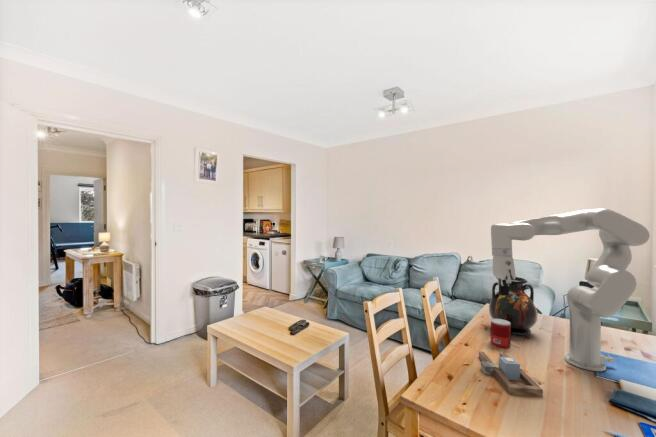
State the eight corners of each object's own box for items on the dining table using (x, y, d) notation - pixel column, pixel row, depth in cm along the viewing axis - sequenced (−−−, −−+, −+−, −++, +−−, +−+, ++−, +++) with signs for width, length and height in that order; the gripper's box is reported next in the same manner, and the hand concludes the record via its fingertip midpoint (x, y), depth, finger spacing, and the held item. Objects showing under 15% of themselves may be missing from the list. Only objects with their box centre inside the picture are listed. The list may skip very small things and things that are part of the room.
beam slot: (504, 358, 119) (504, 351, 119) (542, 396, 93) (542, 387, 93) (471, 356, 121) (471, 349, 121) (500, 393, 95) (500, 384, 95)
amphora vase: (494, 336, 141) (495, 281, 141) (484, 321, 162) (484, 273, 162) (545, 342, 135) (545, 284, 135) (527, 326, 155) (528, 275, 155)
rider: (512, 373, 107) (512, 356, 107) (519, 380, 102) (520, 363, 102) (498, 372, 108) (498, 355, 108) (505, 379, 103) (505, 362, 103)
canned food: (513, 349, 128) (513, 325, 128) (494, 347, 129) (494, 323, 129) (506, 341, 135) (506, 319, 135) (488, 340, 137) (488, 317, 137)
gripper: (521, 254, 113) (523, 299, 113) (502, 250, 128) (504, 290, 128) (501, 254, 114) (503, 299, 113) (485, 250, 128) (486, 290, 128)
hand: (503, 294), depth 120 cm, fingers closed
